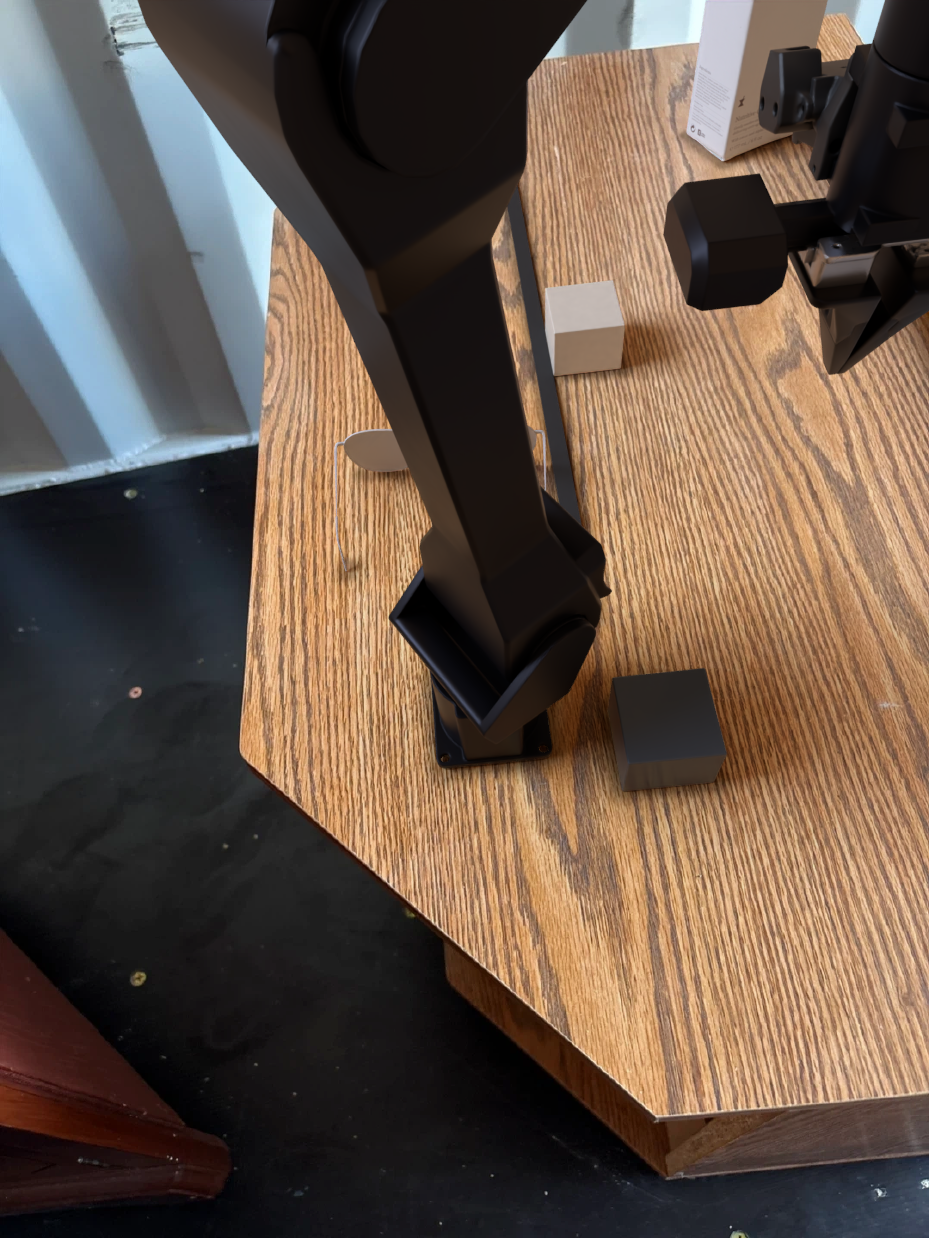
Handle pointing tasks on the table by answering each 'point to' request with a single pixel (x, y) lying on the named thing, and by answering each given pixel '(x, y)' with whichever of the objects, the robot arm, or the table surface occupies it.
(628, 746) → the slate block
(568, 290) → the cream block
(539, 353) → the line tape
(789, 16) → the cosmetic box
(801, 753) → the table surface
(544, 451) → the sunglasses
